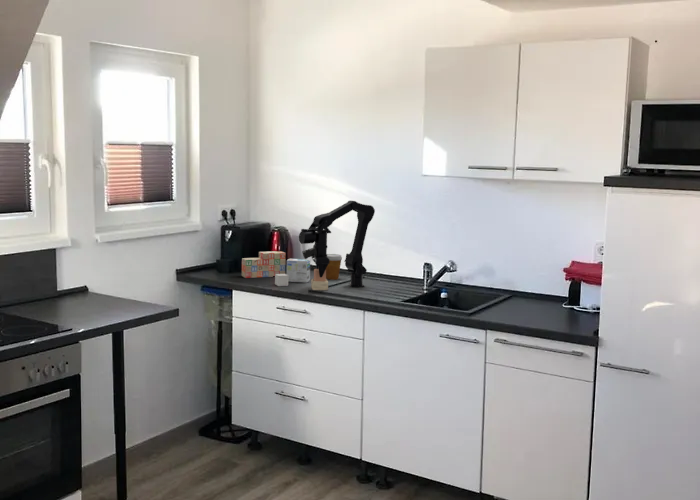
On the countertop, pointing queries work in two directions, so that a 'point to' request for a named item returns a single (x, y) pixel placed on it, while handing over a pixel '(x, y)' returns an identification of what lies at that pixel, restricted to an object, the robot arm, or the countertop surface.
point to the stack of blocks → (264, 265)
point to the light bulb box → (298, 270)
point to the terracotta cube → (319, 276)
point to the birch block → (319, 285)
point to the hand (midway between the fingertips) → (319, 276)
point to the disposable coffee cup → (333, 266)
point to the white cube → (281, 279)
